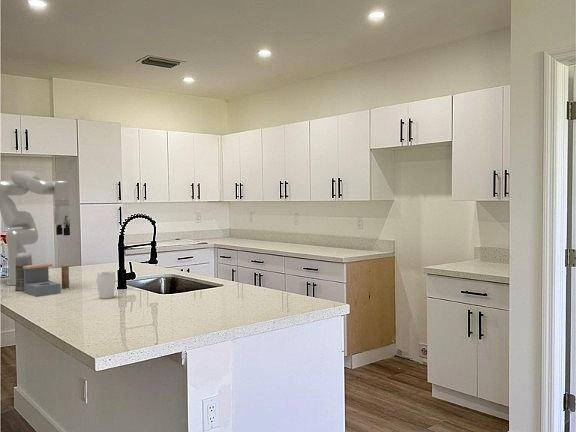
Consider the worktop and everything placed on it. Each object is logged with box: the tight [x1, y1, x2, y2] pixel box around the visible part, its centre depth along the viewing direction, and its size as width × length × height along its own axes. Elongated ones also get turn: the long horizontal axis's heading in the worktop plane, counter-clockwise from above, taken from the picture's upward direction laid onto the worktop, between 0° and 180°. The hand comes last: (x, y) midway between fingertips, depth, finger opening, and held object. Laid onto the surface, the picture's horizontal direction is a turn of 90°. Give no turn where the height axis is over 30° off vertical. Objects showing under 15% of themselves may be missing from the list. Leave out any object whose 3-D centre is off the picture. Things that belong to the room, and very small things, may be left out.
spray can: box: [15, 251, 33, 292], centre depth 276 cm, size 8×8×20 cm
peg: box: [61, 265, 70, 290], centre depth 280 cm, size 4×4×12 cm
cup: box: [95, 271, 117, 299], centre depth 255 cm, size 9×9×12 cm
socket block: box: [23, 263, 62, 298], centre depth 267 cm, size 16×13×14 cm
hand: (63, 235), depth 279 cm, fingers open, 9 cm apart
